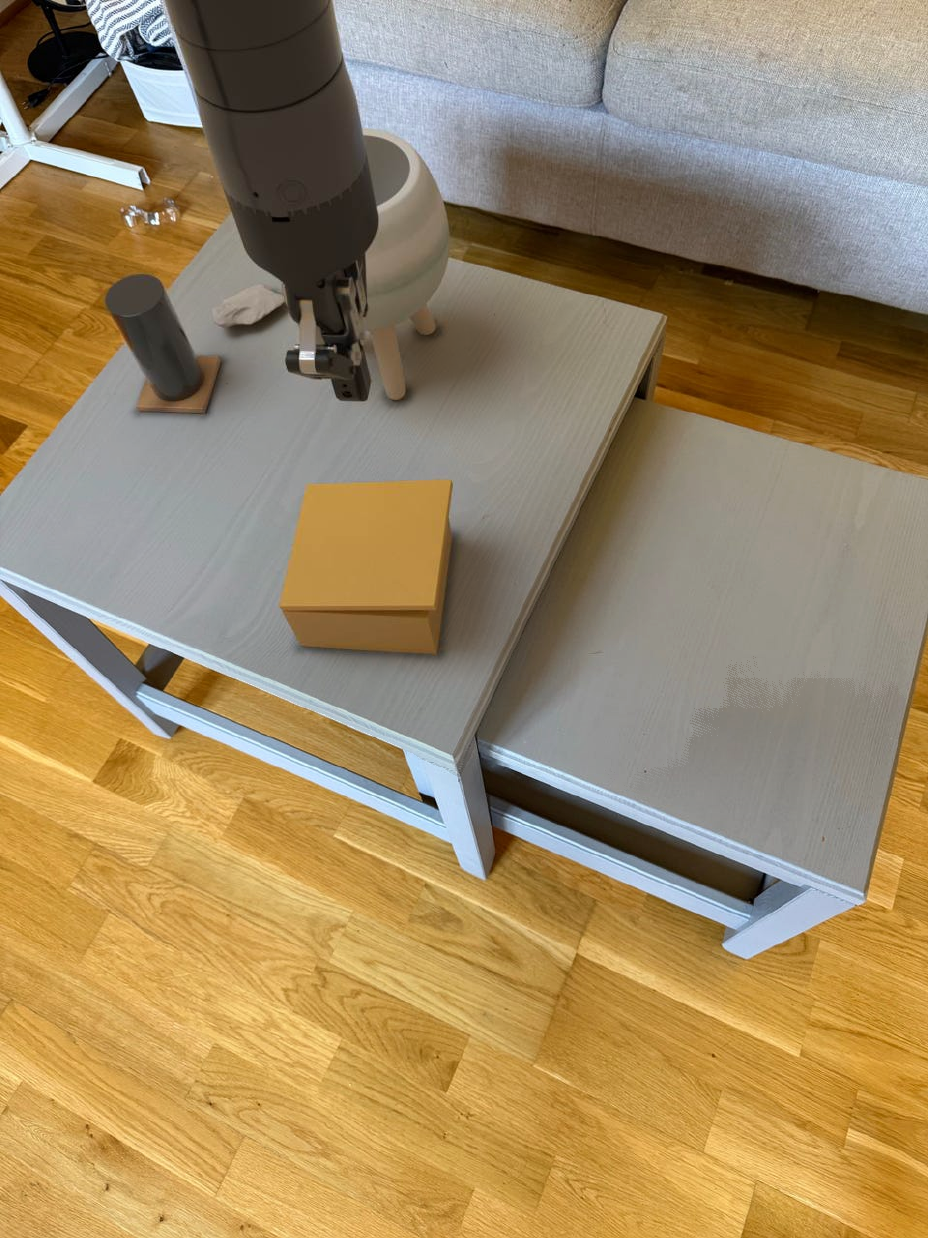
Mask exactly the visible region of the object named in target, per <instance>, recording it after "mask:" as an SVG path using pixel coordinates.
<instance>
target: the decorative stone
mask: <svg viewBox="0 0 928 1238" xmlns="http://www.w3.org/2000/svg"><path fill="white" fill-rule="evenodd" d="M284 303H286V302H285V299H284V297H283V294H280V293H277V292H275V291H273V290H272V289H271V288H269V287H268V286H267V285H266V284H256V285H253V286H250V287H248V288H246V289H243V290H242V291H239V292H238V293H236V294H235V295H233V296H230V297H228V298H225V299H224V300H222V302H221V305H220V306H217V307H214V308H213V309H212V310H211V315H212V318H213V323H214V324H216V325H217V326H218V327H222V328H224V329H225V328H229V327H231V326H235V325H246V326H247V325H253V324H255V323H257V322H259V321H260V320H261V319H263V318H264V317H266V316H267V315H269V314H270V313H272V311H274V310H276V309H277V308H280V307H281V306H282V305H283V304H284Z"/></svg>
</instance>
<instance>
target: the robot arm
mask: <svg viewBox="0 0 928 1238" xmlns="http://www.w3.org/2000/svg"><path fill="white" fill-rule="evenodd" d="M164 5H165V7H166V10H167V14H168V17H169V20H170V23H171V26H172V28H173V32H174V34H175V37H176V40H177V43H178V46H179V49H180V53H181V55H182V58H183V60H184V63H185V67H186V69H187V72H188V75H189V77H190V80H191V83H192V87H193V90H194V93H195V98H196V102H197V107H198V111H199V116H200V117H199V118H200V122H201V127H202V130H203V132H204V137H205V140H206V144H207V146H208V149H209V152H210V154H211V155H210V156H211V157H212V161H213V163H214V166H215V168H216V172H217V174H218V177H219V180H220V184H221V186H222V190H223V192H224V195H225V197H226V200H227V203H228V206H229V209H230V211H231V214H232V217H233V220H234V223H235V226H236V229H237V233H238V235H239V238H240V240H241V243H242V246H243V248H244V251H245V252H246V255H247V256H248V257H249V258H250V260H251V261H252V262H253V263H254V264H255V265H256V266H257V267H259V268H260V269H262V270H263V271H265V272H267V273H268V274H270V275H272V276H273V277H274V278H276V279H278V280H279V281H280V282H281V292H282V296H283V297H284V299H285V302H284V303H285V304H286V307H287V311H288V314H289V316H290V318H291V319H292V321H293V322H295V323H296V324H297V327H298V330H299V343H295V344H294V345H293V349H288V350H287V351H286V354H285V355H286V356H285V359H284V363H285V366H286V370H287V372H288V373H289V374H294V375H297V376H300V377H304V378H308V379H310V380H320V381H321V380H323V379H324V380H330V382H331V385H332V389H333V392H334V395H335V397H336V399H337V400H338V401H339V402H341V401H342V402H361V403H362V402H366V401H368V398H369V396H370V391H371V385H372V377H371V373H370V370H369V366H368V365H369V364H368V361H367V356H366V352H365V347H364V345H365V341H366V339H367V333H366V331H364V326H363V321H362V317H366V316H367V312H368V303H367V283H366V258H365V252H366V251H367V250H368V249H369V247H370V246H371V244H372V243H373V241H374V239H375V236H376V234H377V230H378V223H379V218H378V211H377V205H376V200H375V195H374V189H373V184H372V179H371V173H370V168H369V163H368V157H367V152H366V147H365V142H364V137H363V131H362V129H363V126H362V120H361V116H360V111H359V110H360V109H359V105H358V100H357V96H356V93H355V89H354V86H353V83H352V80H351V78H350V75H349V71H348V68H347V65H346V62H345V57H344V52H343V49H342V42H341V38H340V33H339V27H338V23H337V16H336V12H335V6H334V0H164Z"/></svg>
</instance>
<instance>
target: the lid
mask: <svg viewBox="0 0 928 1238" xmlns="http://www.w3.org/2000/svg"><path fill="white" fill-rule="evenodd" d="M452 480H453V479H451V478H447V479H419V480H396V481H395V480H392V481H364V482H363V481H361V482H339V483H338V482H337V483H335V482H334V483H310V484H306V485H305V488H304V493H303V498H302V501H301V506H300V511H299V517H298V520H297V524H296V529H295V533H294V538H293V541H292V547H291V551H290V556H289V560H288V564H287V569H286V574H285V577H284V582H283V586H282V591H281V596H280V600H279V604H278V607H279V608H280V610H281V611H282V610H436V608H437V600H438V593H439V585H440V578H441V570H442V563H443V556H444V548H445V541H446V533H447V526H448V518H449V519H450V509H451V503H452V495H453V488H454V484H453V481H452Z"/></svg>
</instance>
